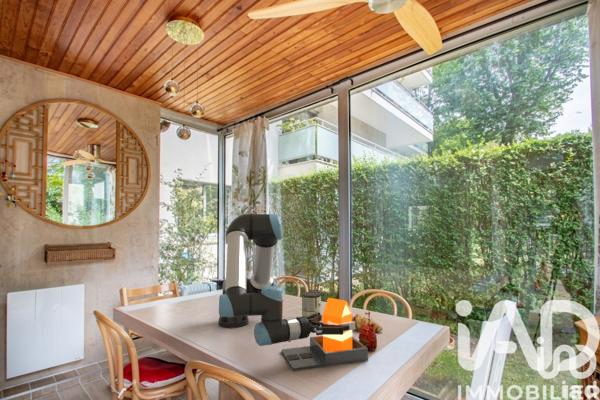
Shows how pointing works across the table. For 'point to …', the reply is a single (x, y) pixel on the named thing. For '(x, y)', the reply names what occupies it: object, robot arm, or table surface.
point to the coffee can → (311, 303)
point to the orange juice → (337, 315)
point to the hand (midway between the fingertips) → (344, 320)
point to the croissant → (365, 323)
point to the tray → (323, 355)
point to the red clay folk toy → (368, 336)
